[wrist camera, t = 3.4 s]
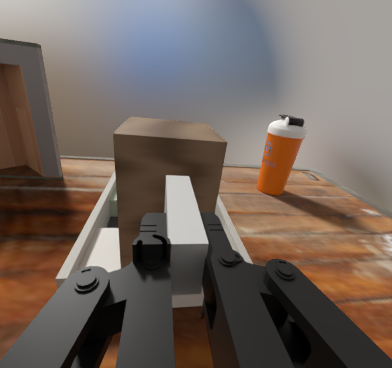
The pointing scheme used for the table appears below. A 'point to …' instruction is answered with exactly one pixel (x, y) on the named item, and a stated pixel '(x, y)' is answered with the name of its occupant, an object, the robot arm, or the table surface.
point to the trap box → (109, 243)
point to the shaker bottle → (280, 153)
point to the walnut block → (162, 169)
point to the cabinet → (26, 115)
